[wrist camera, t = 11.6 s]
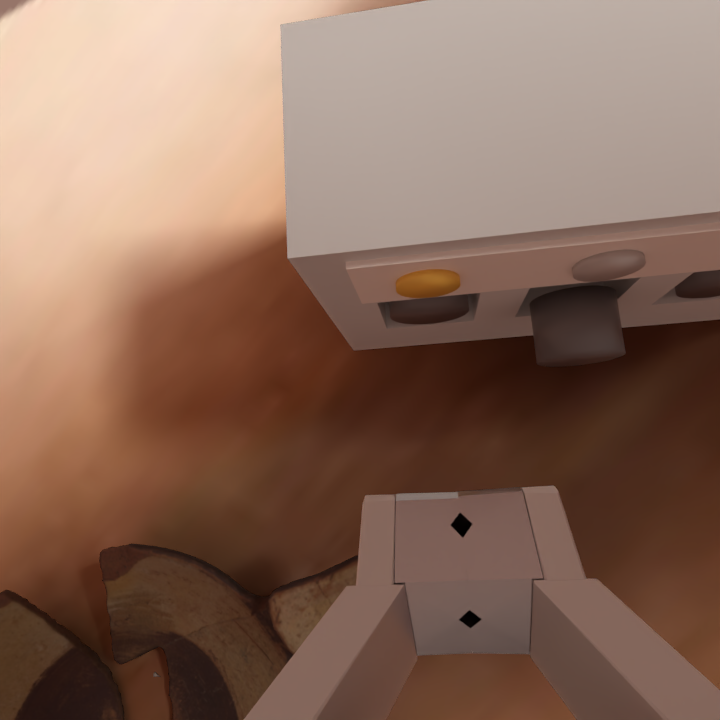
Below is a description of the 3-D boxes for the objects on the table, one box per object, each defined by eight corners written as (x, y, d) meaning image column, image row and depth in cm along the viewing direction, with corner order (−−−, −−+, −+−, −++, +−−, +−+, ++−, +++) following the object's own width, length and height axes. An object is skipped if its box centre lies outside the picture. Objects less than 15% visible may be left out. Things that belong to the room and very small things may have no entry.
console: (753, 326, 32) (1048, 193, 17) (354, 359, 35) (287, 274, 20) (719, 164, 34) (952, -87, 19) (346, 209, 37) (280, 24, 22)
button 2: (610, 363, 28) (638, 345, 24) (530, 369, 28) (545, 353, 24) (602, 307, 28) (627, 281, 25) (523, 314, 29) (537, 290, 25)
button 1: (745, 294, 28) (796, 265, 24) (662, 301, 28) (698, 274, 24) (734, 238, 28) (781, 202, 24) (653, 247, 29) (686, 212, 25)
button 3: (466, 320, 29) (471, 298, 25) (393, 327, 30) (386, 306, 26) (461, 268, 30) (465, 238, 26) (389, 275, 30) (382, 247, 27)
